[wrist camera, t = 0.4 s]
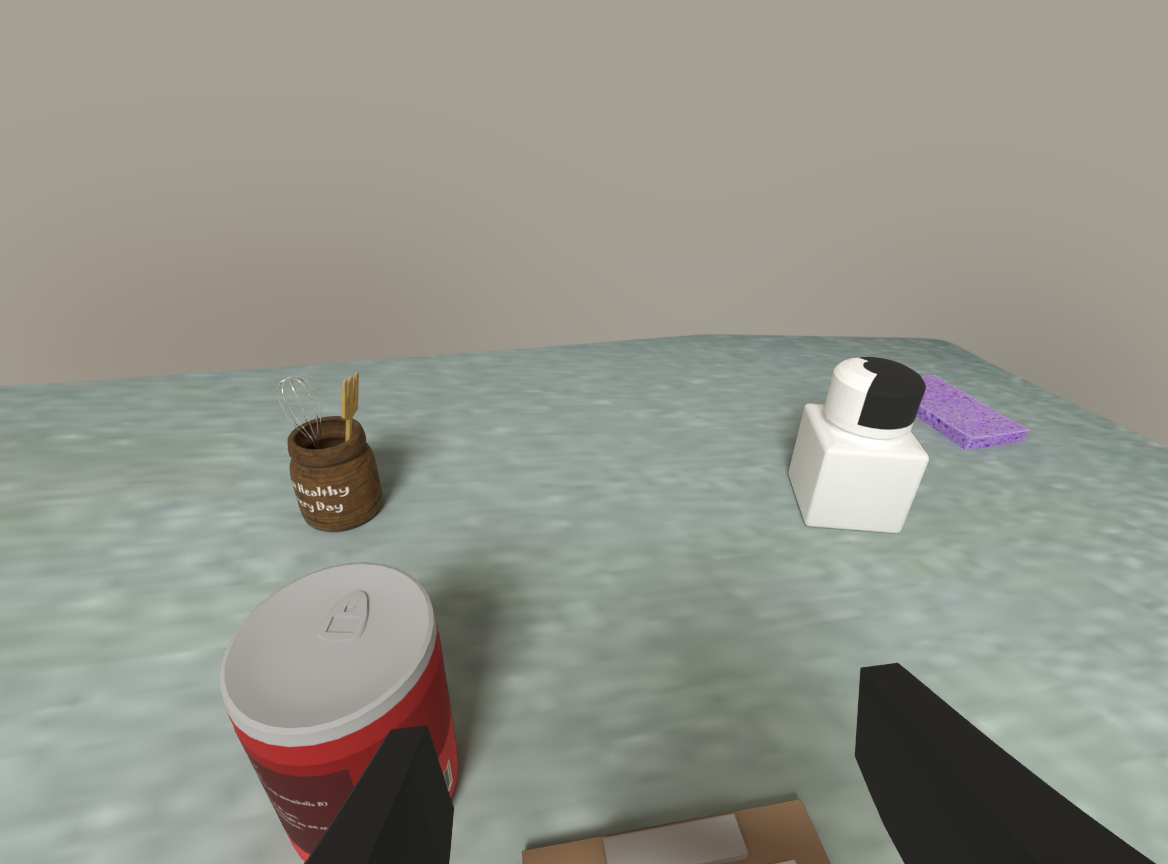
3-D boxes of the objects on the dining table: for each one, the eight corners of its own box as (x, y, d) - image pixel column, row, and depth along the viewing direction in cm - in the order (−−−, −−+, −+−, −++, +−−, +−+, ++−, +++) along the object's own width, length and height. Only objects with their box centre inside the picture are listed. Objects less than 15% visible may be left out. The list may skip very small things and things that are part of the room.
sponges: (964, 455, 55) (971, 438, 54) (875, 393, 65) (880, 378, 64) (1024, 446, 57) (1032, 429, 56) (928, 387, 67) (934, 372, 66)
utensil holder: (335, 480, 49) (301, 347, 43) (402, 495, 47) (377, 358, 41) (285, 525, 44) (239, 381, 38) (357, 543, 43) (322, 396, 36)
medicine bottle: (871, 480, 50) (915, 350, 44) (901, 535, 44) (957, 395, 38) (786, 473, 51) (818, 345, 45) (804, 528, 45) (843, 388, 39)
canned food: (454, 698, 32) (431, 547, 26) (467, 859, 26) (440, 706, 20) (304, 730, 31) (244, 576, 25) (277, 912, 24) (187, 760, 18)
